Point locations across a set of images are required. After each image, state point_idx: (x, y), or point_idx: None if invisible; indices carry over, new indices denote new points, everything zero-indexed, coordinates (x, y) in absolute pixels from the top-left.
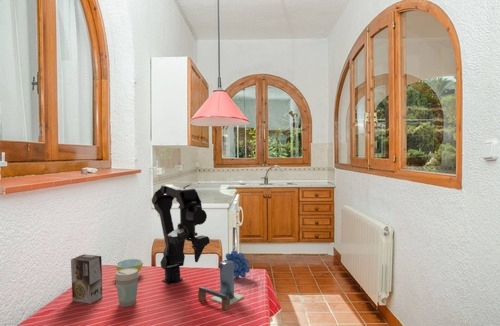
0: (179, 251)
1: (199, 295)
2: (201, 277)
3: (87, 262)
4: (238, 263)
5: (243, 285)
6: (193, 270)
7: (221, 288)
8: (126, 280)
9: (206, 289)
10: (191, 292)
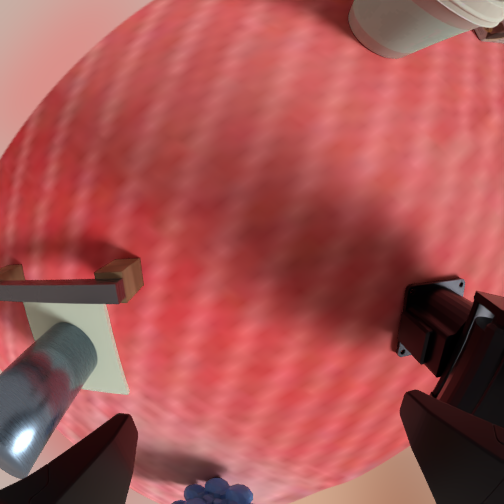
0: (448, 439)
1: (122, 265)
2: (341, 419)
3: None
4: None
5: (137, 448)
6: None
7: (46, 345)
8: None
9: (63, 287)
10: (243, 295)
